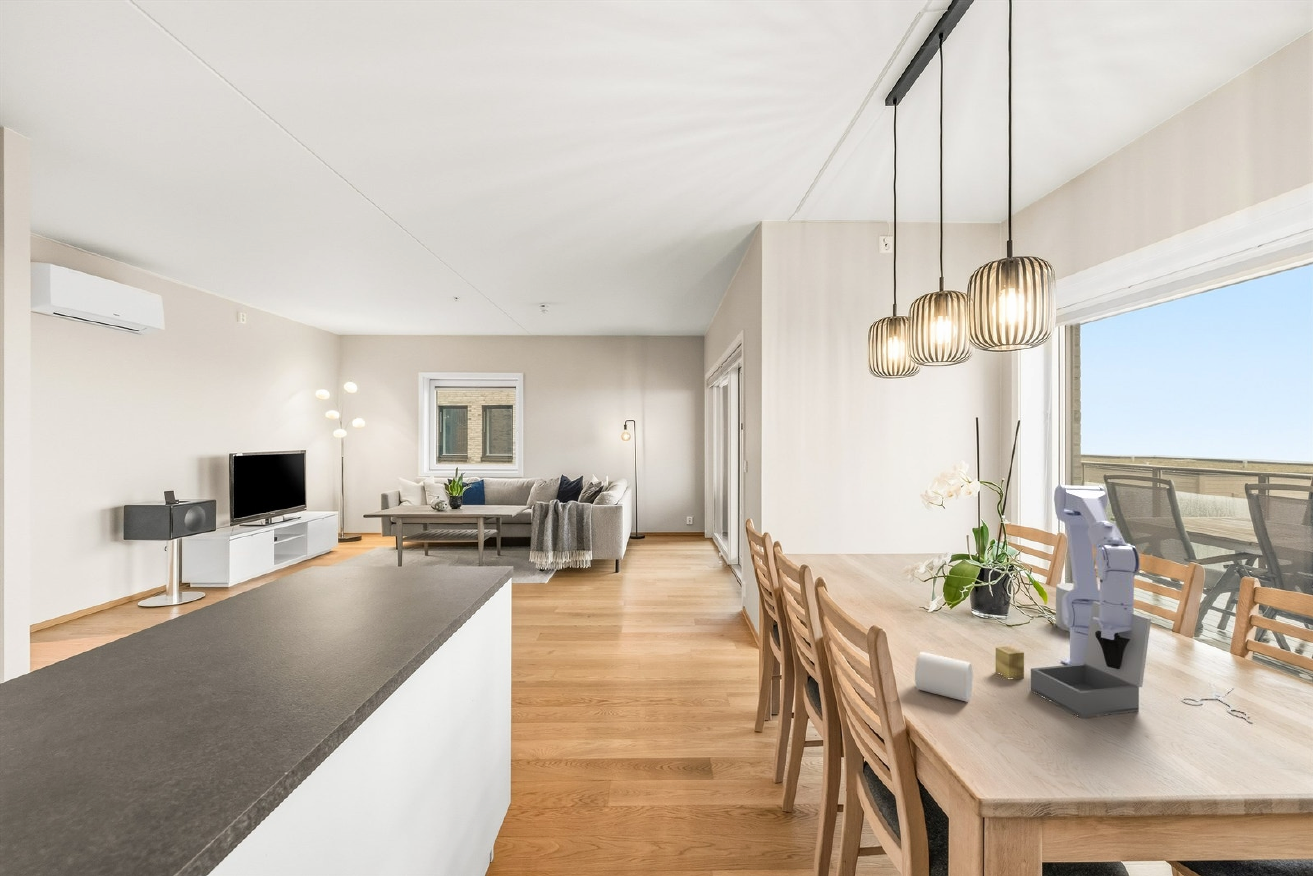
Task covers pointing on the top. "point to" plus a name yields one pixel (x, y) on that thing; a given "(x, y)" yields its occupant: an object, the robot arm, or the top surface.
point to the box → (1085, 690)
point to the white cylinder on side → (944, 676)
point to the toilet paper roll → (1060, 591)
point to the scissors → (1215, 697)
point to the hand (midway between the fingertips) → (1116, 664)
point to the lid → (1132, 654)
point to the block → (1010, 662)
